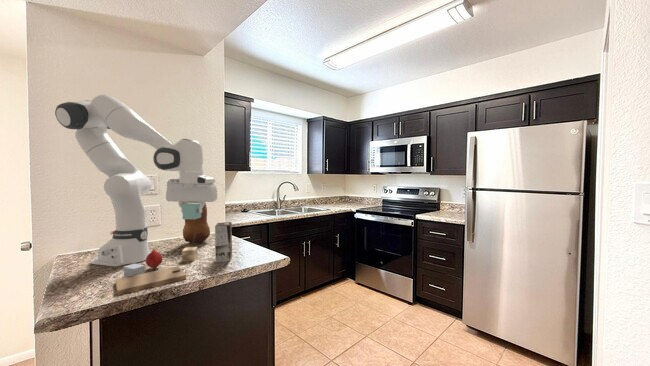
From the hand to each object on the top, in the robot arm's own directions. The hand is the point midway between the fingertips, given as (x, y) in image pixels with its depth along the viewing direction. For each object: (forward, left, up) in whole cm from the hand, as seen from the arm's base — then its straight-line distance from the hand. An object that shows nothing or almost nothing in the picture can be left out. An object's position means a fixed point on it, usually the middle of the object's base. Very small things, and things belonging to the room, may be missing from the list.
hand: (191, 212), depth 109 cm
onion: (-15, -2, -23) cm, 28 cm away
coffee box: (+8, +12, -23) cm, 27 cm away
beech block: (-7, +10, -23) cm, 26 cm away
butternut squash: (-19, +36, -23) cm, 46 cm away
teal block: (0, 0, -2) cm, 2 cm away
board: (-7, -14, -23) cm, 28 cm away
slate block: (-17, -10, -23) cm, 31 cm away
